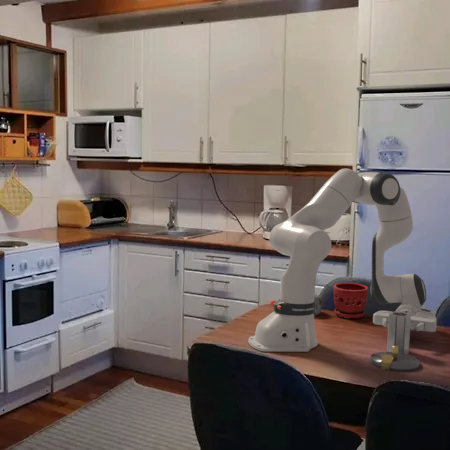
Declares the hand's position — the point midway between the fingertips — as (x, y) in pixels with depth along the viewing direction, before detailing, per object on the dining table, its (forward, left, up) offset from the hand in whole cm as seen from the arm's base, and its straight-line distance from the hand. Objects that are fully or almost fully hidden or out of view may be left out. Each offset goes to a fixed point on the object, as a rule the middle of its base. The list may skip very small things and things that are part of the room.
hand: (401, 326), depth 191 cm
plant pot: (+2, +40, -7) cm, 41 cm away
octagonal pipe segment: (-3, -4, -7) cm, 8 cm away
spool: (-12, +48, -7) cm, 50 cm away
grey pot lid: (-10, -14, -7) cm, 18 cm away
